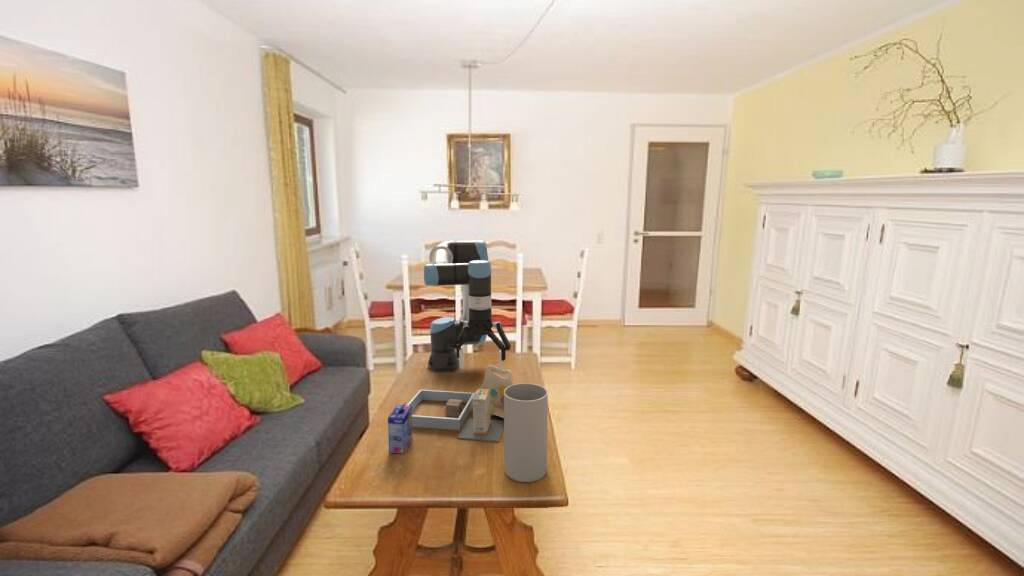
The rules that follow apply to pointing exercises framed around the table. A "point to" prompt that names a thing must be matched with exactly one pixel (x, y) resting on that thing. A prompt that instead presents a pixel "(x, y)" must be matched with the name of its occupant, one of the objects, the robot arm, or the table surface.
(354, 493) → the table surface
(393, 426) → the ink cartridge box
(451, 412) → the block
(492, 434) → the mat
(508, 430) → the cylinder vase
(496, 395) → the shape sorter
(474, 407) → the supplement box
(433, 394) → the bin
